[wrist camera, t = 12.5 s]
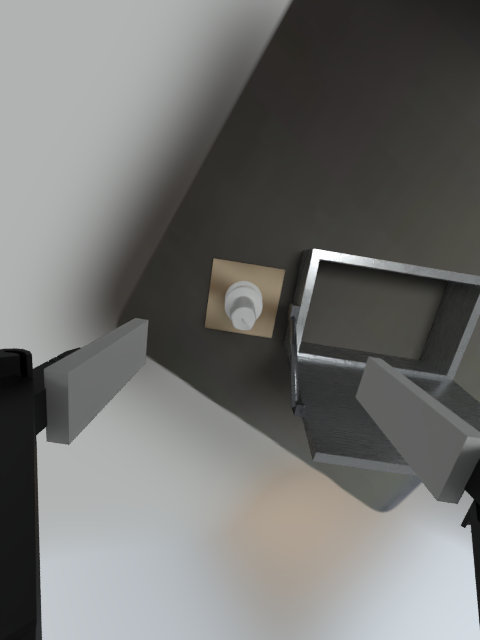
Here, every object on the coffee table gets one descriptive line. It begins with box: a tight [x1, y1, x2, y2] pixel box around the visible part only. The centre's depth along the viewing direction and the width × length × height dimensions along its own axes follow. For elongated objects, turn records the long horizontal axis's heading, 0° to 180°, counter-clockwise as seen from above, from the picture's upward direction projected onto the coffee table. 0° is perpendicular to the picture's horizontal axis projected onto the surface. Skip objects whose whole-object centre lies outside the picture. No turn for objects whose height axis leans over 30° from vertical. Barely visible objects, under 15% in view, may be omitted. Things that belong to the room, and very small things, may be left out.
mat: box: [205, 258, 285, 338], centre depth 35 cm, size 10×10×1 cm
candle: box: [225, 281, 263, 330], centre depth 29 cm, size 5×5×12 cm
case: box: [283, 249, 480, 476], centre depth 27 cm, size 17×23×19 cm
